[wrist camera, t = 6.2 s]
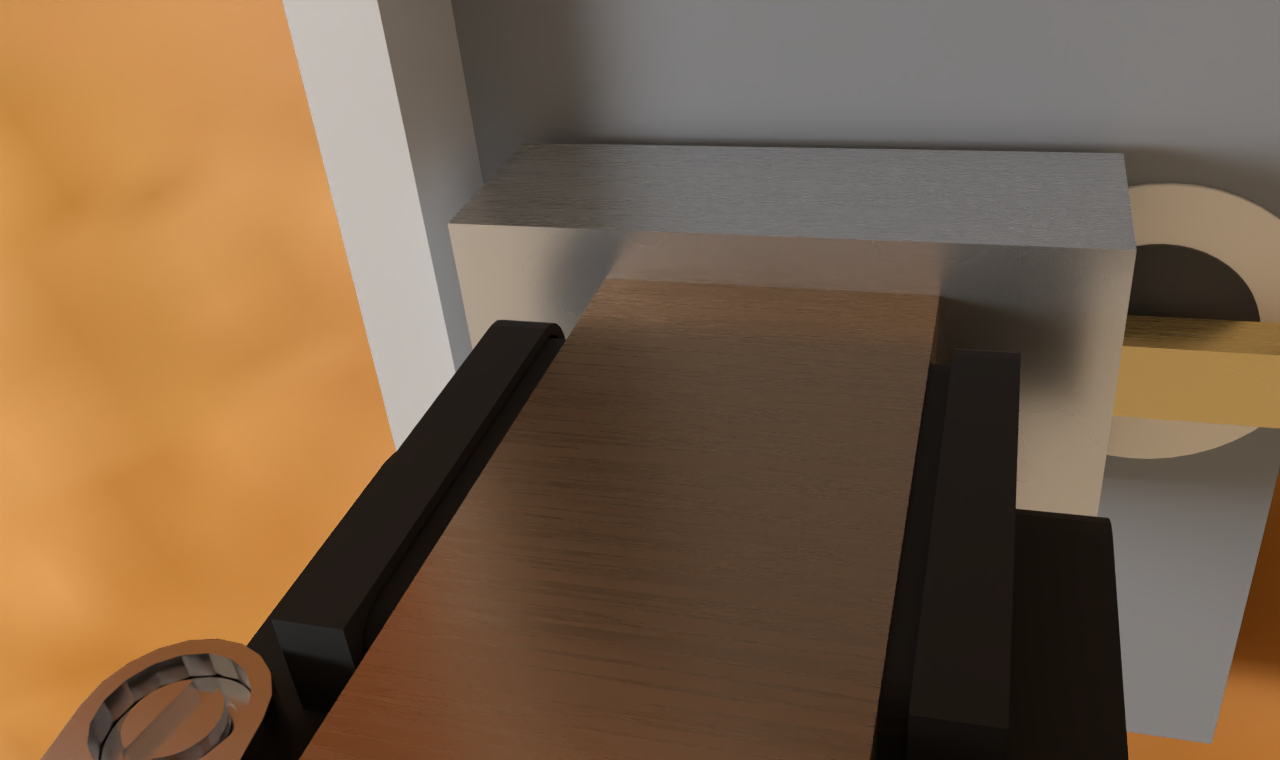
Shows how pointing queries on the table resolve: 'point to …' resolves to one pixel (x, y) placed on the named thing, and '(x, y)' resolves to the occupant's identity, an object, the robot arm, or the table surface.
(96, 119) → the table surface
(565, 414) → the trammel slider
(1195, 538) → the gauge board
